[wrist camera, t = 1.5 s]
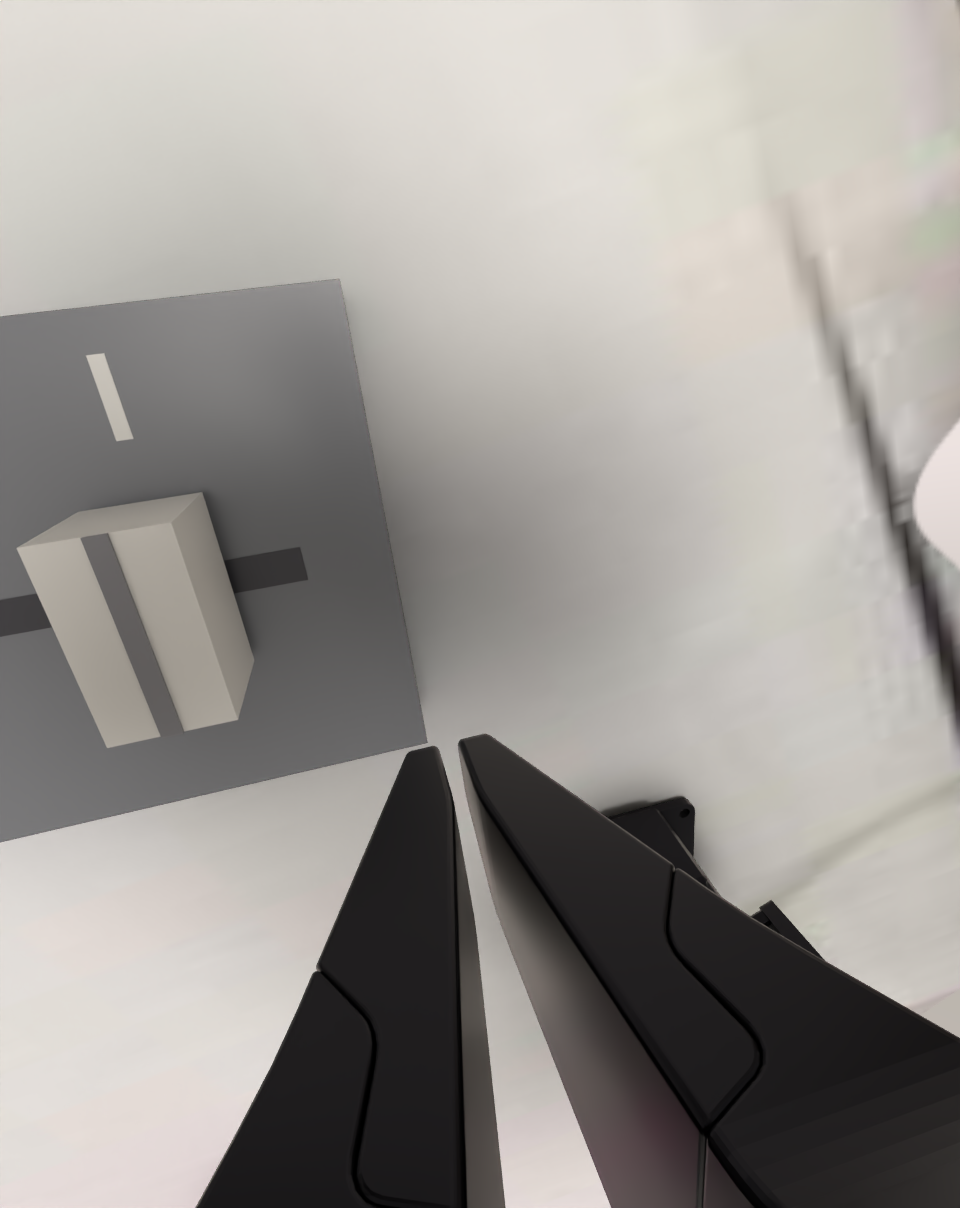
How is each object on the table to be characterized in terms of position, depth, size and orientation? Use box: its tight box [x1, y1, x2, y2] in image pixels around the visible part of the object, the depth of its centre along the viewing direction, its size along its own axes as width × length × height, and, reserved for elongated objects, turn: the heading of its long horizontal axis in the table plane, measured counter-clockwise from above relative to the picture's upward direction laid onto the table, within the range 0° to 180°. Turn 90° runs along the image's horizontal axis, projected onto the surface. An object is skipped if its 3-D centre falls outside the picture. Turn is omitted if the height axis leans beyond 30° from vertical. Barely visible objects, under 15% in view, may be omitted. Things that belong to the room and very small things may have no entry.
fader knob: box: [17, 492, 254, 748], centre depth 15 cm, size 5×3×3 cm, turn 9°
